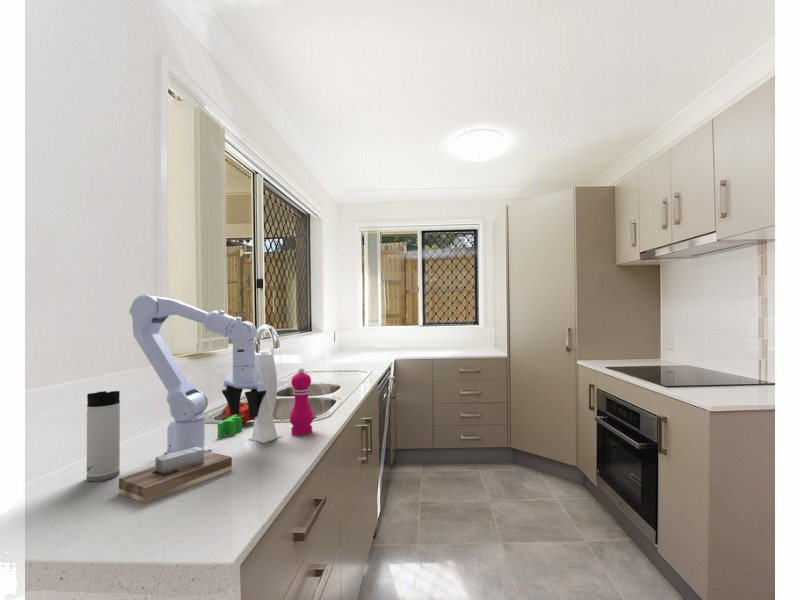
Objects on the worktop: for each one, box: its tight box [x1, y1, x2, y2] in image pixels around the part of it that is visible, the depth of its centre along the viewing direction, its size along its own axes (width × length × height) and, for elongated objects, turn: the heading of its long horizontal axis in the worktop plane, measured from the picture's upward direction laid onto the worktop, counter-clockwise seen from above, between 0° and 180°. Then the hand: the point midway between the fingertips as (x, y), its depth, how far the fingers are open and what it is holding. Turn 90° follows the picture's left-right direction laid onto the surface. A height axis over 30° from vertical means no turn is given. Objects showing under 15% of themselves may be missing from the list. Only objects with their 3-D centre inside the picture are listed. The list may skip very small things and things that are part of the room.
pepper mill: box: [289, 367, 314, 436], centre depth 130 cm, size 7×7×20 cm
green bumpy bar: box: [217, 415, 243, 439], centre depth 131 cm, size 11×4×5 cm, turn 176°
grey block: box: [155, 447, 204, 476], centre depth 94 cm, size 4×9×5 cm, turn 141°
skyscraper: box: [247, 345, 283, 444], centre depth 124 cm, size 8×8×28 cm
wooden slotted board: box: [118, 451, 233, 504], centre depth 94 cm, size 10×20×3 cm, turn 150°
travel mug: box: [86, 390, 121, 483], centre depth 97 cm, size 6×7×20 cm
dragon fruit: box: [221, 400, 255, 426], centre depth 141 cm, size 8×8×12 cm
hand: (244, 415), depth 114 cm, fingers open, 7 cm apart
